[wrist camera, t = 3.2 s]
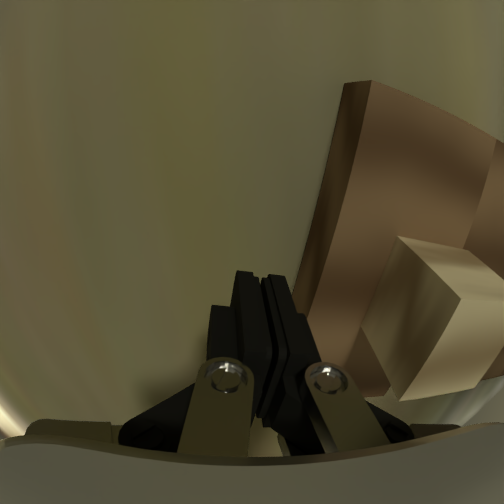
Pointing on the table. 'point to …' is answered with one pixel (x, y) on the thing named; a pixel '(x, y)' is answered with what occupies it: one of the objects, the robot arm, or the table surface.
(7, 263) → the table surface
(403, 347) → the birch block
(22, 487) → the robot arm
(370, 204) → the trap board
